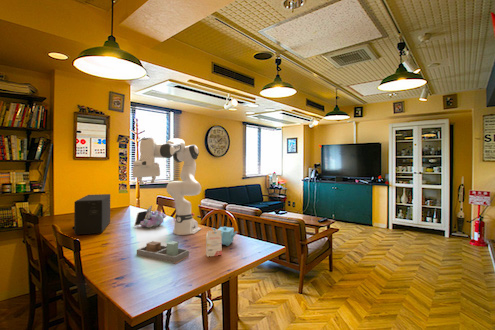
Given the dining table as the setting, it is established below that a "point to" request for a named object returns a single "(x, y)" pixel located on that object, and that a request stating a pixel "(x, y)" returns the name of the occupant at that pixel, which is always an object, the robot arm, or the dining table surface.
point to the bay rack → (164, 254)
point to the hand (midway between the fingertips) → (147, 183)
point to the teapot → (226, 235)
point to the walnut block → (153, 246)
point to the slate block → (172, 248)
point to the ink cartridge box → (213, 243)
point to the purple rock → (149, 218)
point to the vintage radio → (91, 214)
